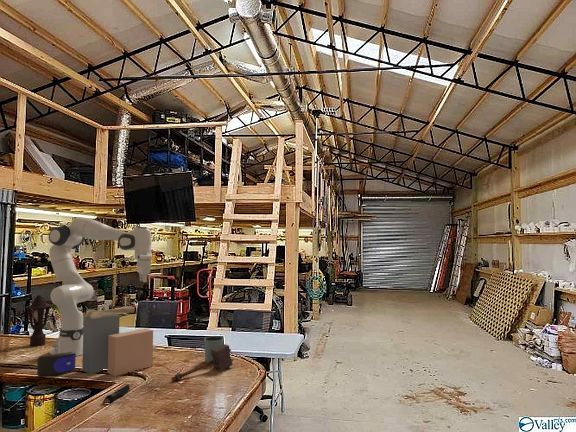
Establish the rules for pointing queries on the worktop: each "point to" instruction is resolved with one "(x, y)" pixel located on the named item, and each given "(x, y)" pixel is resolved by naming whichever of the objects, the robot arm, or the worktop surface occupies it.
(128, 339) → the tan upright block
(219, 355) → the hammer
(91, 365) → the grey upright block
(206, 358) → the grey green cup
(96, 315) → the T-bar
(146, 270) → the robot arm
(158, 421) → the worktop surface
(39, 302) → the lantern
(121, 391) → the electric trimmer
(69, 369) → the leaning round-cornered charcoal block
